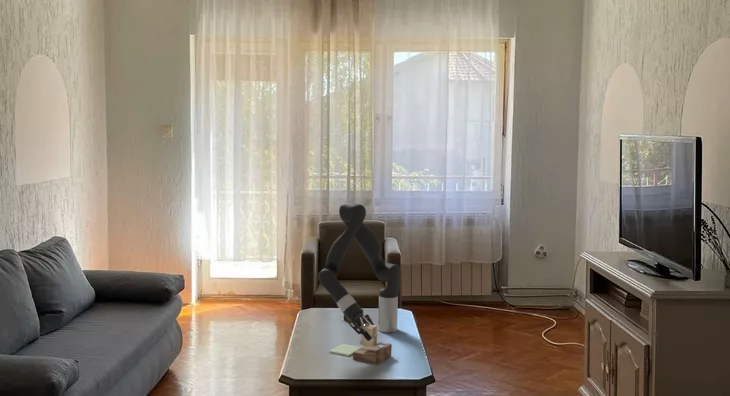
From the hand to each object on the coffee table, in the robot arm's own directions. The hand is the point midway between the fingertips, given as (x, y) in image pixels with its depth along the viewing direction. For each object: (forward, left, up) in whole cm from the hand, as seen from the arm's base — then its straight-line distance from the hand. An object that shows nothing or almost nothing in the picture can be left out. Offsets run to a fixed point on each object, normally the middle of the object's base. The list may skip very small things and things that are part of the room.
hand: (372, 337), depth 313 cm
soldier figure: (-11, -5, -9) cm, 15 cm away
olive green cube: (-46, -35, -10) cm, 58 cm away
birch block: (0, -2, -3) cm, 4 cm away
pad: (-2, -14, -9) cm, 17 cm away
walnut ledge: (0, -1, -9) cm, 9 cm away
